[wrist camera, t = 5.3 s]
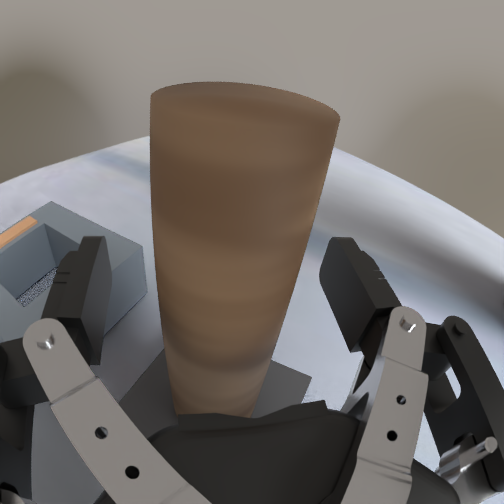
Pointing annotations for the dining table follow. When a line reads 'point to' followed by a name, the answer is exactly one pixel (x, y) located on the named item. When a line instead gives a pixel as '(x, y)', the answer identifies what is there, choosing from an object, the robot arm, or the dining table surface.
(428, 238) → the dining table surface
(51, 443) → the dining table surface
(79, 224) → the socket block
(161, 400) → the pad
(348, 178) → the dining table surface
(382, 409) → the robot arm
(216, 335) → the walnut peg
